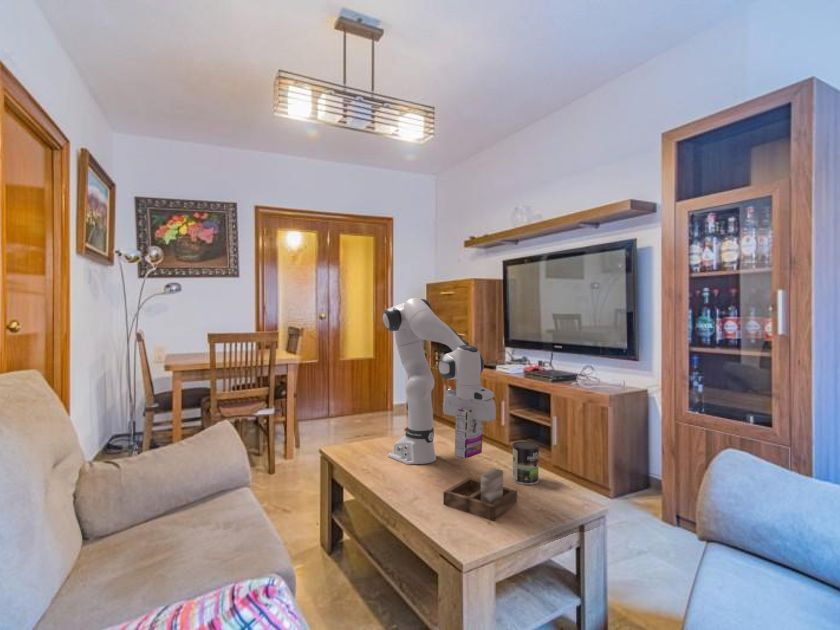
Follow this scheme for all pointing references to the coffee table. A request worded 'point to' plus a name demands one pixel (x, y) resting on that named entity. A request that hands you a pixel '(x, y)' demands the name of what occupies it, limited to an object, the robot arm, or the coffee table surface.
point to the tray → (482, 495)
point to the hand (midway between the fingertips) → (468, 430)
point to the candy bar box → (467, 435)
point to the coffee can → (525, 462)
